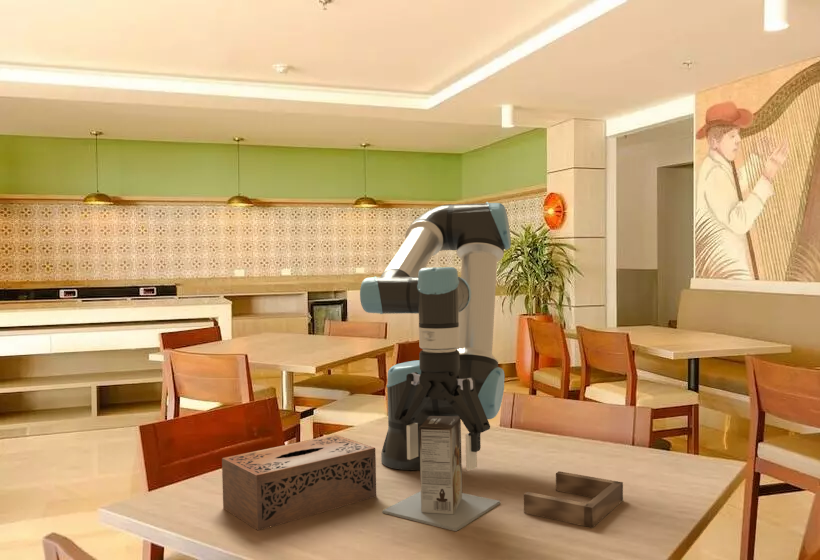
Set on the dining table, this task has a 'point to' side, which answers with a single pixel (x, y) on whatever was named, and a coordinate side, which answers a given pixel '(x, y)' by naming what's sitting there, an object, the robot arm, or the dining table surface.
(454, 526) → the grey mat
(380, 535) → the dining table surface
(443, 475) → the coffee box
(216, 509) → the dining table surface
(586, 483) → the wooden u-shaped frame
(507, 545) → the dining table surface
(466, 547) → the dining table surface
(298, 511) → the tissue box cover
